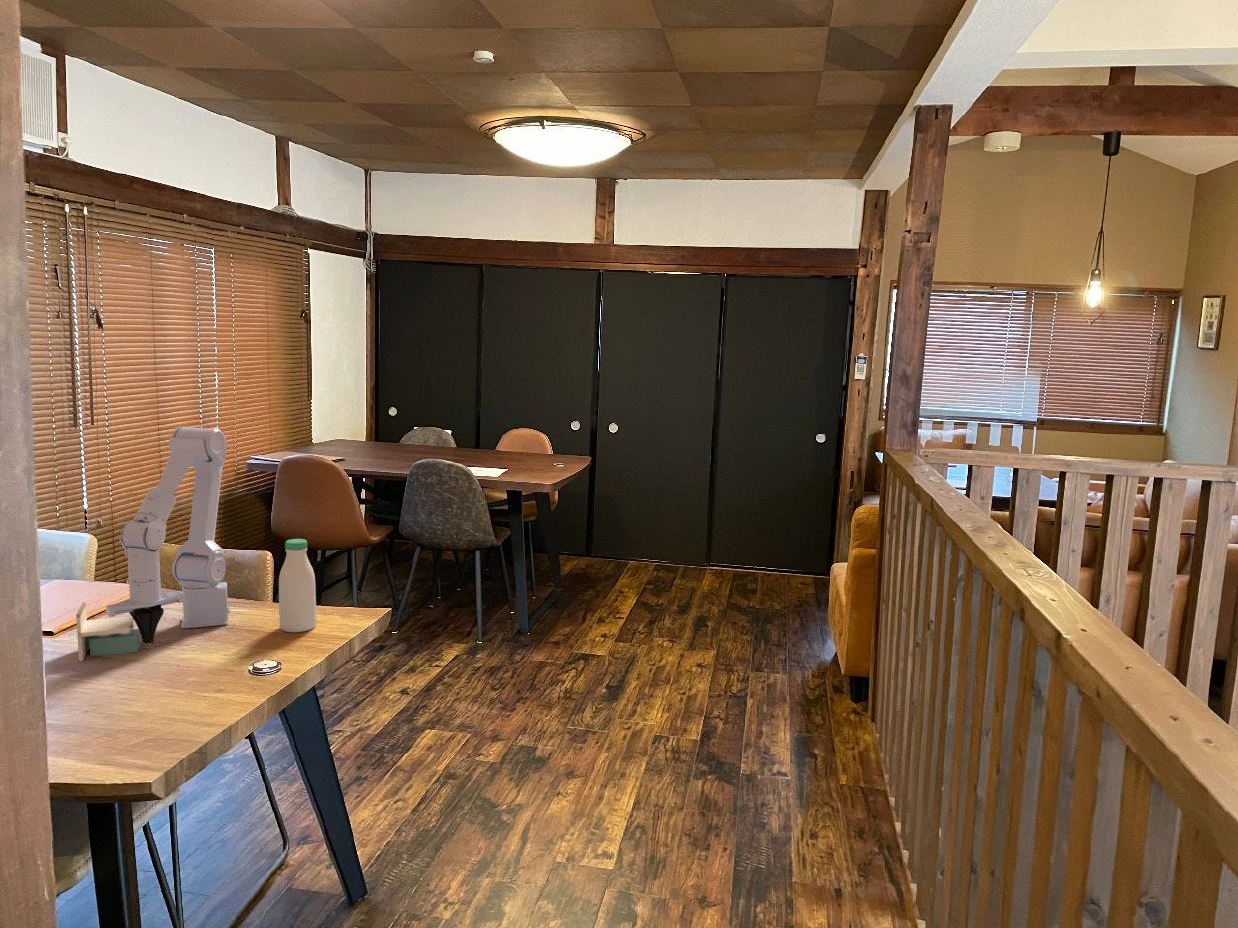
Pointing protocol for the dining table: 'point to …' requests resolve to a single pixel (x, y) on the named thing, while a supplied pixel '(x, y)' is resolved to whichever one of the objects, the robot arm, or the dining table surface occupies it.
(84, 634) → the beige flanged peg
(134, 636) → the teal block
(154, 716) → the dining table surface
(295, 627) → the milk bottle
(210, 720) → the dining table surface
